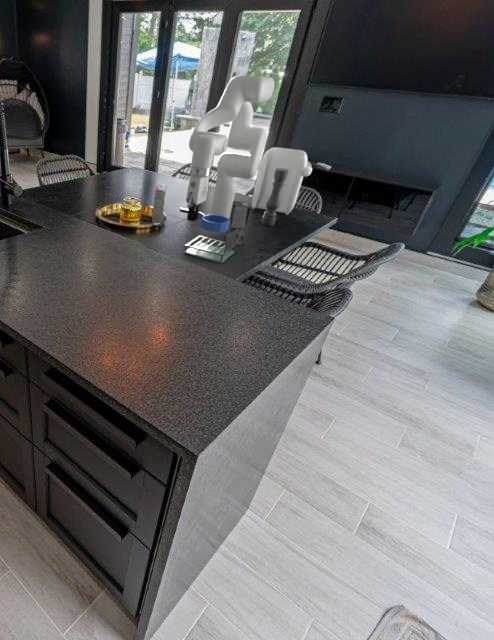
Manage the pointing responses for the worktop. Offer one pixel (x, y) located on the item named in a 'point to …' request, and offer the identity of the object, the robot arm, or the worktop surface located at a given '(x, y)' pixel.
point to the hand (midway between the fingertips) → (192, 219)
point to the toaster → (290, 190)
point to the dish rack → (212, 248)
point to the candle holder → (274, 197)
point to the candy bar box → (159, 204)
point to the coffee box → (238, 220)
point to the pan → (211, 221)
